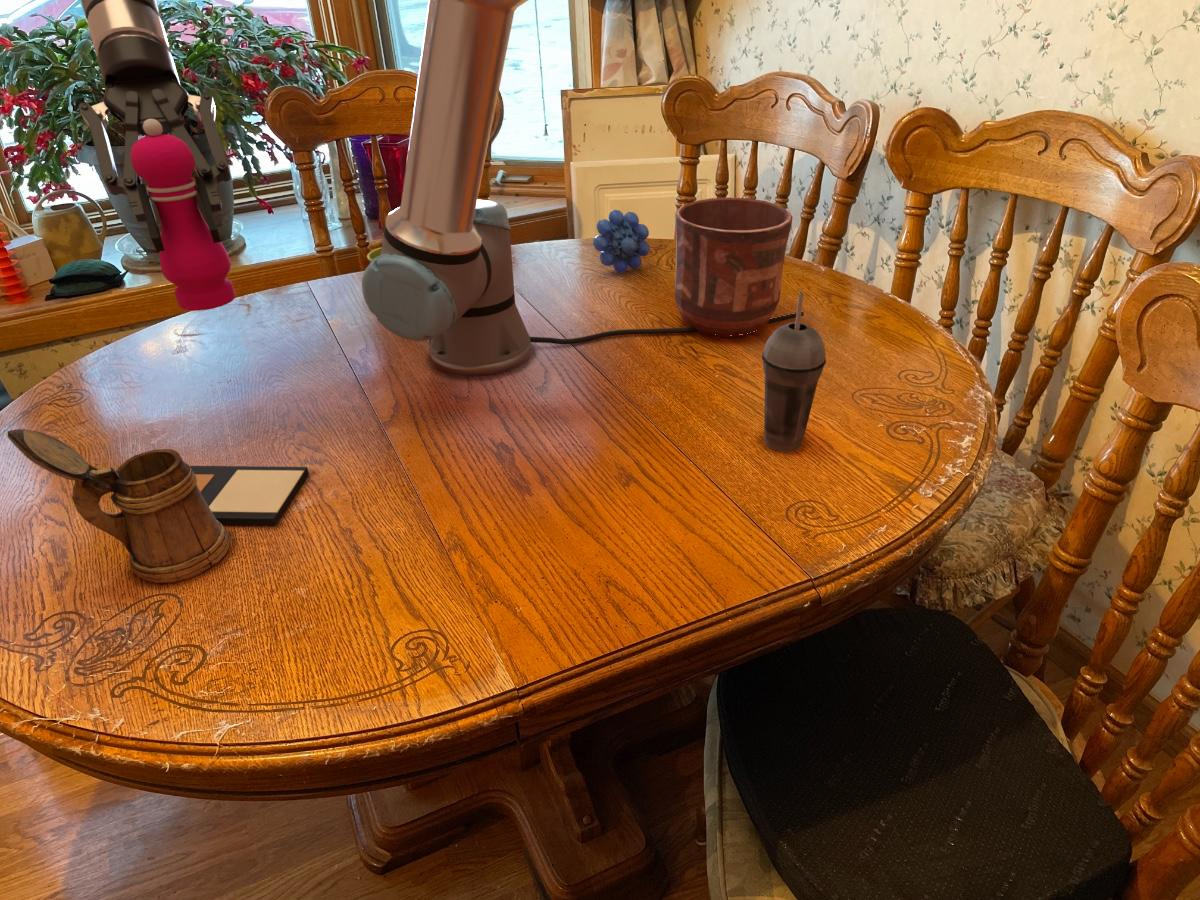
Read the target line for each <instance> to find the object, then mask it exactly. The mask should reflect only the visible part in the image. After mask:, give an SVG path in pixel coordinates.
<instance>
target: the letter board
mask: <svg viewBox="0 0 1200 900" xmlns="http://www.w3.org/2000/svg"><path fill="white" fill-rule="evenodd" d="M189 467H190V468H191V469H192V471H193V472H194V474H195V476H196V478H197V484H196V485H197V487H198V489H199V490H200V492H201V494H202V496H203V497H204V499H205V501H206V503H207V504H208V506H209V508H210V510H211V511H212V513H213V515H214V516H215V518H216V520H218V521H219V522H220V523H221V524H222V526H258V527H259V526H261V527H263V526H264V527H265V526H267V527H270V526H271V527H276V526H277V524H278V523H279V522H280V520H281V518H282V517H283V515H284V513H285V512H286V510H287V509H288V507H289V506H290V504H291V502H292V501H293V499H294V498H295V496H296V494H297V493H298V491H299V490H300V488H301V487H302V485H303V483H305V481H306V479H307V478H308V476H309V474H310V473H309V469H308V466H262V465H261V466H254V465H253V466H252V465H251V466H249V465H189Z"/></svg>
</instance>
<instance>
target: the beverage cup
mask: <svg viewBox="0 0 1200 900" xmlns="http://www.w3.org/2000/svg"><path fill="white" fill-rule="evenodd" d="M804 294H805V293H804V291H803V290H800V291H798V295H797V296H798V298H797V305H796V312H797V313H796V318H795V322H789V323H786V324H783V325H781V326H779V327H778V328H777V329H775V330H774V331H773V332H772V333H771V335H770V336H769V337H768V339H767V340H766V342H765V345H764V348H763V351H762V353H761V359H762V368H763V374H764V411H763V412H764V417H763V418H764V420H763V421H764V423H763V425H764V426H763V432H764V443H765V445H766V446H767V447H768V448H769V449H772V450H774V451H776V452H782V453H783V452H784V453H790V452H794V451H797V450H799V449H800V448H801V447H802V445H803V441H804V437H805V435H806V431H807V427H808V423H809V420H810V414H811V411H812V407H813V404H814V399H815V395H816V391H817V387H818V383H819V379H820V378H821V376H822V374H823V370H824V367H825V366H826V364H827V360H826V359H827V358H826V347H825V342H824V340H823V338H822V336H821V335H820V334H819V332H818V331H817V330H816V329H814V327H812V326H811V325H808V324H806V323H803V322H801V319H802V316H801V311H803V310H802V309H803V302H804Z"/></svg>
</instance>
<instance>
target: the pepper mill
mask: <svg viewBox="0 0 1200 900" xmlns="http://www.w3.org/2000/svg"><path fill="white" fill-rule="evenodd" d="M143 129H144V131H145V133H146V134H148V135H145V137H143V138H141V139H139V140H138V141H137V142H136V143H135V144H134V145H133V147H132V149H131V154H130V155H131V163H132V166H133V169H134V171H135V172H136V174H137V175H138V176H139V177H141V178H142V180H144V181H145V182H146V183H147V184H146V185H145V188H146V190H147V192H148V194H149V195H148V197H149V199H150V200H151V202H152V201H153V202H154V205H155V207H156V209H157V212H158V217H159V220H160V227H161V231H160V236H161V239H162V243H163V246H164V250H165V251H159V264H160V269H161V272H162V275H163V277H164V278H165V279H166V280H167V281H168V282H170V284H171V283H172V285H174V286H176V288H175V289H174V292H173V293H174V296H175V300H176V302H177V304H178V307H179V308H180V309H182V310H186V311H191V312H192V311H194V312H197V311H199V312H200V311H208V310H213V309H216V308H220V307H223V306H225V305H228V304H230V303H232V302H233V301H234V300H235V299H236V296H237V295H236V291H235V288H234V284H233V282H232V280H230V279H229V278H227V276H228V274H229V273H230V271H231V267H232V261H231V258H230V256H229V254H228V251H227V249H226V248H225V246H224V244H223V242H222V241H221V242H217V243H214V242H213V239H212V235H211V232H210V229H209V226H208V222H207V221H206V220H205V218H204V216H203V214H202V211H201V209H200V206H199V202H198V199H197V195H198V194H199V191H198V188H197V184H196V181H195V178H192V175H193V172H195V170H194V168H195V161H194V157H193V154H192V152H191V150H190V149H189V147H188V146H187V144H186V143H184V142H183V141H182V140H181V139H179V138H177V137H175V136H172V135H171V134H168V133H162V131H163V130H162V126H161V124H160V123H159V122H158V121H157V120H155V119H147V120H146V121H145V122H144V123H143Z"/></svg>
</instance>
